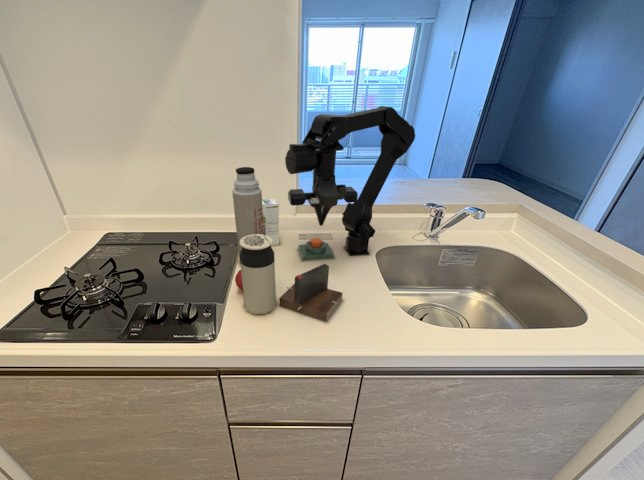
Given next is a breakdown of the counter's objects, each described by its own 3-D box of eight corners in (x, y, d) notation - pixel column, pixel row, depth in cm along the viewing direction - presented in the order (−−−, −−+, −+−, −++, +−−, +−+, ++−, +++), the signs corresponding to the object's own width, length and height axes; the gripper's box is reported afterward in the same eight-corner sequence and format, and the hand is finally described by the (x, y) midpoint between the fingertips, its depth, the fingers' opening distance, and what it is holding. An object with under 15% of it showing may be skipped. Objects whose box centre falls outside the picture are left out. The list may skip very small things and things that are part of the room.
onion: (245, 283, 91) (243, 258, 87) (262, 289, 89) (260, 263, 84) (232, 293, 87) (229, 267, 82) (249, 299, 85) (247, 273, 80)
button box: (327, 247, 110) (328, 238, 108) (333, 258, 103) (334, 248, 101) (298, 249, 109) (298, 239, 107) (302, 260, 102) (302, 250, 100)
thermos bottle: (270, 260, 102) (266, 167, 86) (253, 270, 97) (245, 173, 81) (251, 253, 106) (244, 163, 90) (234, 263, 101) (223, 169, 85)
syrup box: (259, 240, 115) (257, 199, 106) (275, 238, 116) (274, 197, 108) (263, 247, 110) (261, 205, 102) (280, 244, 112) (279, 203, 103)
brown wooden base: (347, 297, 85) (348, 289, 84) (324, 327, 75) (325, 318, 74) (299, 283, 91) (299, 275, 90) (273, 309, 81) (272, 301, 80)
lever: (323, 286, 85) (324, 262, 81) (327, 289, 84) (329, 265, 80) (294, 301, 80) (294, 276, 75) (298, 304, 79) (299, 278, 74)
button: (320, 242, 106) (320, 237, 105) (322, 247, 103) (322, 242, 102) (309, 243, 105) (309, 238, 104) (311, 248, 102) (311, 243, 101)
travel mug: (246, 316, 79) (239, 250, 68) (243, 298, 85) (237, 234, 75) (278, 312, 80) (276, 246, 70) (273, 295, 86) (270, 232, 76)
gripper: (294, 179, 78) (293, 238, 87) (368, 175, 81) (360, 234, 90) (287, 167, 87) (288, 222, 96) (354, 165, 90) (348, 219, 99)
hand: (320, 225), depth 95 cm, fingers closed
